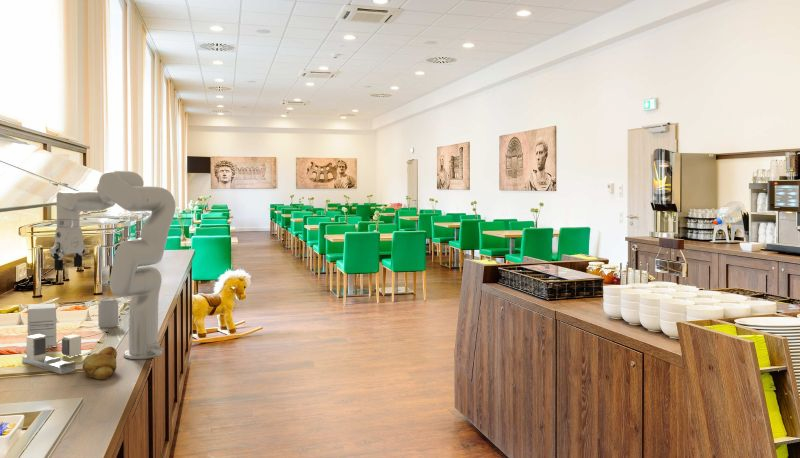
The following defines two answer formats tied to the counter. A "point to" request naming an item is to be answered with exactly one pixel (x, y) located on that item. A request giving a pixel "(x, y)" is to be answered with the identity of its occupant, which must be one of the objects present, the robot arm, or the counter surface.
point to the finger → (71, 345)
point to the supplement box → (43, 321)
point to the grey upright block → (108, 313)
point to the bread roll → (101, 363)
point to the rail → (44, 356)
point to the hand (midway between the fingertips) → (68, 268)
